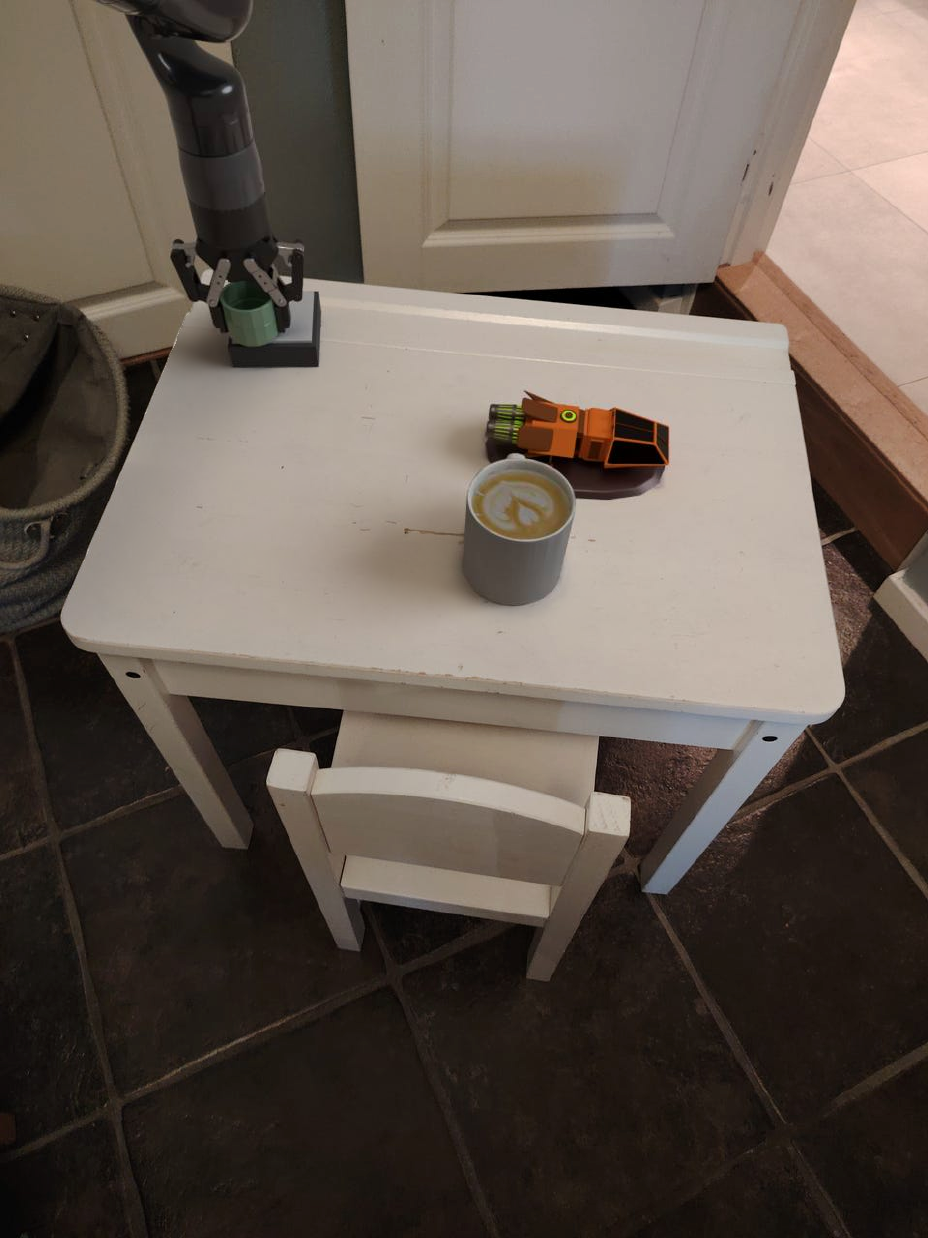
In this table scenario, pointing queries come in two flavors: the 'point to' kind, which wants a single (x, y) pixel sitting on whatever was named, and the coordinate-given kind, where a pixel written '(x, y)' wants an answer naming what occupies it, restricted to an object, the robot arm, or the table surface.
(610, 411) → the toy spacecraft
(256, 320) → the green cup
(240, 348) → the scale
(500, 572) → the coffee mug
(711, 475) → the table surface
